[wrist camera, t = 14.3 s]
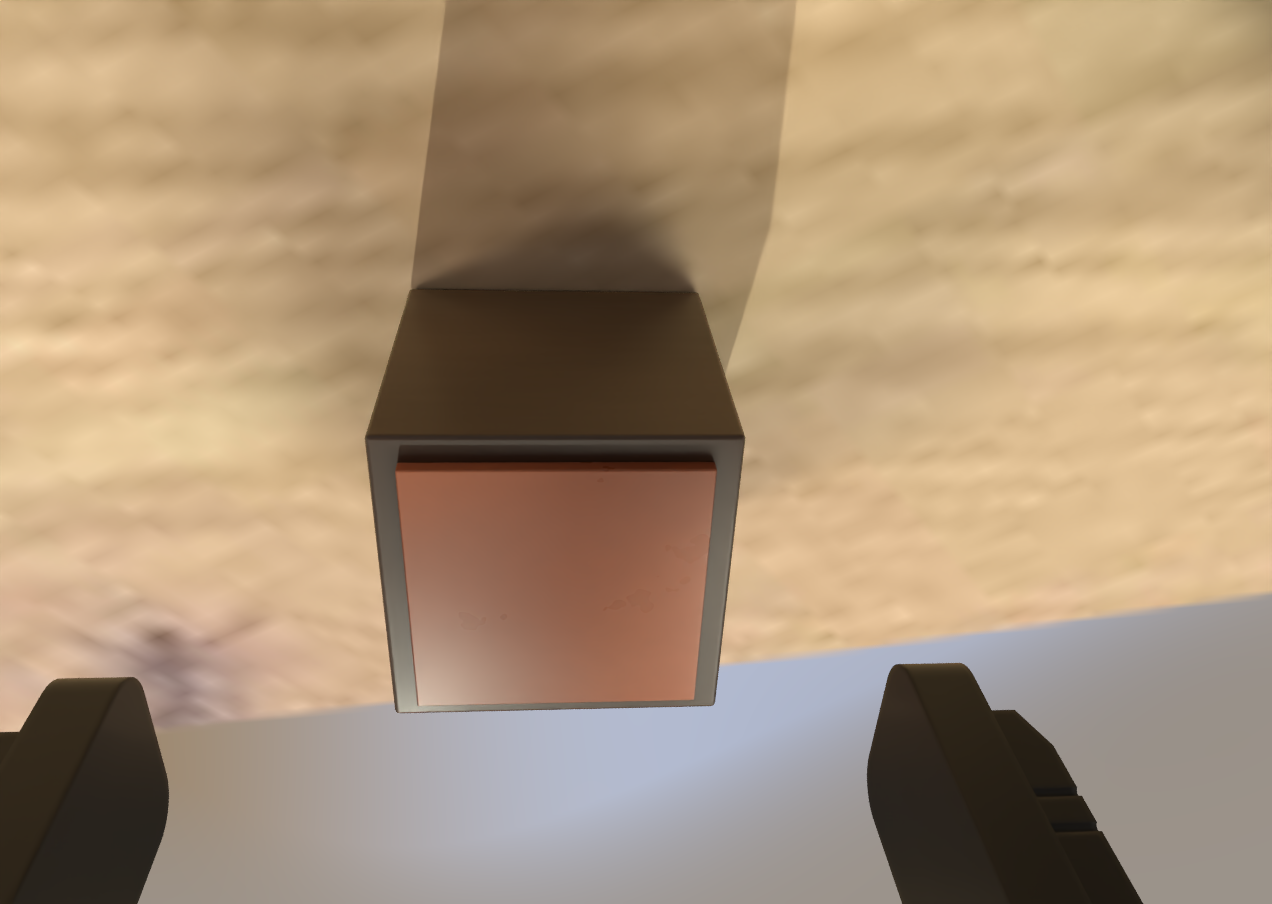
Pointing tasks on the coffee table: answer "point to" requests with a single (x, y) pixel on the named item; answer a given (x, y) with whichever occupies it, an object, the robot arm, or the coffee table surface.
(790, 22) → the coffee table surface
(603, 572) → the red-topped brown block
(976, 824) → the robot arm
